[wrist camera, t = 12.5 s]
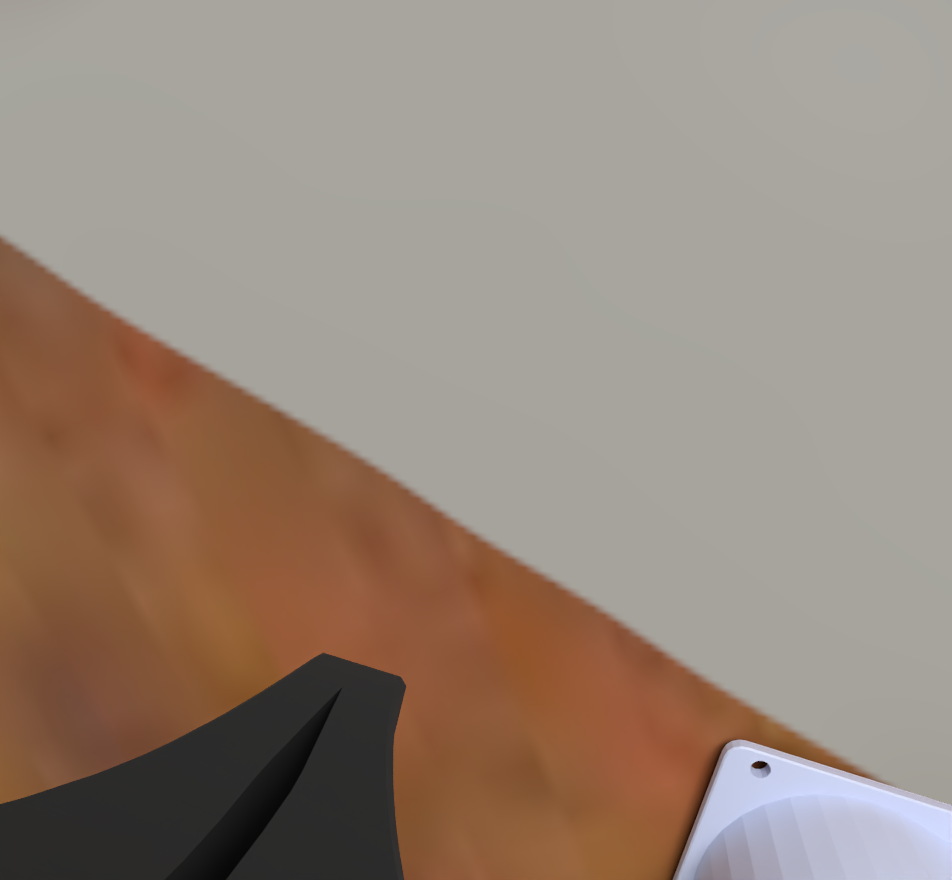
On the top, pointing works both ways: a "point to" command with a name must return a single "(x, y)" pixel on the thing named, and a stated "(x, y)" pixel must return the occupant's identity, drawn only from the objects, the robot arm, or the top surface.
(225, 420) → the top surface
